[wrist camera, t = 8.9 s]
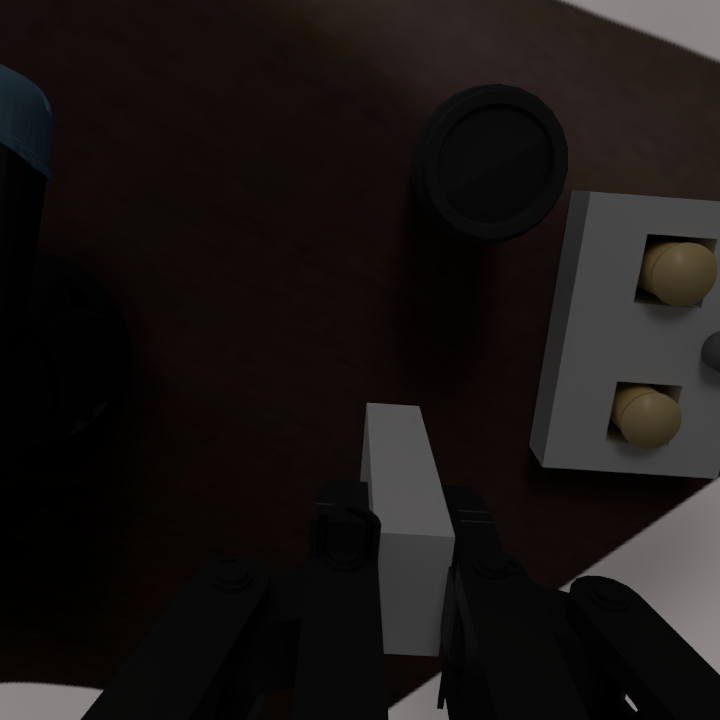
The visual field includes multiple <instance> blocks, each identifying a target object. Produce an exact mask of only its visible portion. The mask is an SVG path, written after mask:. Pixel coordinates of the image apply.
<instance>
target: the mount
mask: <svg viewBox="0 0 720 720" xmlns="http://www.w3.org/2000/svg"><path fill="white" fill-rule="evenodd" d="M647 234H657V235H670V236H684V237H688V240H687V242H690V243H696V244H699V245H702V246H704V247H706V248H707V249H708V250H710V251H711V253H712V254H713V255H714V257H715V259H716V262H717V269H718V270H717V278H716V281H715V283H714V286H713V287H712V289H711V290H710V292H709V293H708V294H707V295H706V296H705V297H704V298H703V299H701V300H700V301H698V302H696V303H694V304H691V305H688V306H673V305H670V304H668V303H666V302H664V301H662V300H661V299H659V298H658V297H657V296H647V295H635V292H636V287H637V283H638V278H639V273H640V268H641V263H642V258H643V253H644V249H645V244H646V239H647ZM617 381H619V382H634V383H648V384H655V386H654V389H655V390H656V391H657V392H659V393H662V394H665V395H667V396H668V397H670V398H671V399H673V400H674V401H675V402H676V403H677V404H678V406H679V408H680V410H681V415H682V421H681V426H680V428H679V431H678V432H677V434H676V435H675V436H674V438H673V439H672V440H670V441H669V442H668V443H666V444H665V445H663V446H660V447H657V448H653V449H643V448H639V447H636V446H634V445H632V444H631V443H630V442H629V441H628V440H627V439H626V438H625V437H624V435H623V434H622V432H621V429H620V428H619V427H618V426H617V425H616V424H611V423H609V419H610V414H611V409H612V404H613V399H614V394H615V390H616V385H617ZM529 446H530V448H531V449H532V451H533V453H534V454H535V456H536V457H537V459H538V461H539V462H540V464H541V466H542V467H549V468H564V469H579V470H594V471H609V472H624V473H639V474H655V475H670V476H685V477H700V478H715V479H717V478H718V474H719V470H720V202H719V201H706V200H692V199H679V198H666V197H653V196H639V195H626V194H613V193H600V192H586V191H573V190H572V192H571V198H570V204H569V210H568V216H567V222H566V228H565V234H564V240H563V246H562V252H561V258H560V264H559V270H558V276H557V282H556V288H555V294H554V300H553V306H552V312H551V318H550V324H549V330H548V336H547V342H546V348H545V354H544V360H543V366H542V372H541V378H540V384H539V390H538V396H537V402H536V408H535V414H534V420H533V426H532V432H531V438H530V444H529Z"/></svg>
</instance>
